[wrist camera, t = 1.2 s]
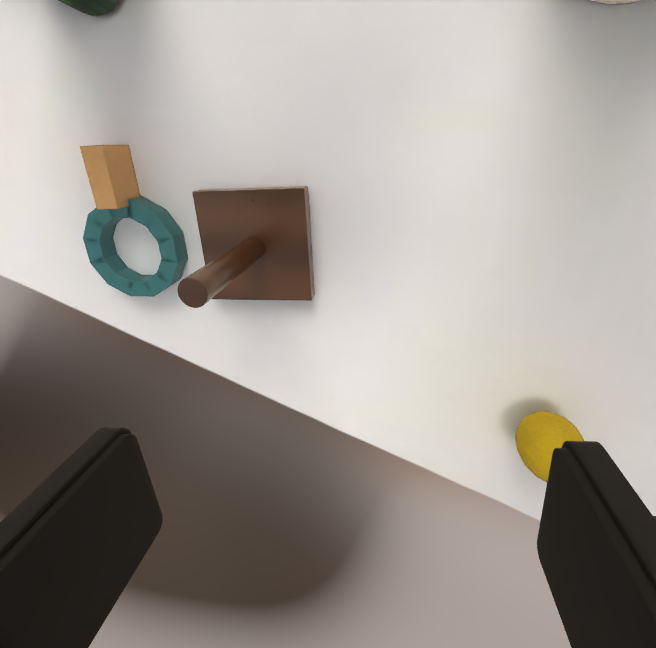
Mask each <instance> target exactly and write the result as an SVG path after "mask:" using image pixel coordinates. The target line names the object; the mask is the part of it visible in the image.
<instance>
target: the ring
mask: <svg viewBox="0 0 656 648" xmlns="http://www.w3.org/2000/svg"><path fill="white" fill-rule="evenodd" d="M80 149H81V153H82V156H83V160H84V163H85V167H86V171H87V174H88V178H89V182H90V185H91V189H92V192H93V196H94V200H95V203H96V208H95V209H94V210H93V211H92V212H91V213H89V214H88V218H87V222H86V227H85V232H84V236H83V239H84V243H85V246H86V249H87V253H88V256H89V259H90V263H91V264H92V265H93V267H94V268H95V269H96V270H97V272H98V273H99V274H100V275H101V276H102V278H103V279H104V280H105V281H106V282H107V284H109V285H110V286H112V287H114V288H116V289H118V290H120V291H122V292H124V293H126V294H128V295H129V296H155V295H157V294H158V293H160V292H162V291H163V290H165V289H166V288H168V287H169V286H171V285H172V284H174V283H175V282H176V281H178V280H179V279H181V276H182V273H183V270H184V267H185V264H186V262H187V259H188V256H187V251H186V246H185V241H184V235H183V232H182V230H181V229H180V228H179V226H178V225H177V223H176V222H175V221H174V219H173V218H172V217H171V215H170V214H169V213H168V211H167V210H166V209H164V208H162V207H160V206H159V205H157V204H155V203H153V202H151V201H149V200H148V199H146V198H144V197H140V194H139V189H138V185H137V180H136V176H135V172H134V167H133V163H132V159H131V154H130V150H129V146H128V145H94V146H80ZM122 218H132V219H134V220H136V221H137V222H139V223H141V224H143V225H145V226H146V227H147V228H148V229H149V231H150V232H151V233H152V235H153V236H154V237H155V239H156V240H157V241H158V244H159V249H160V253H161V258H162V260H161V263H160V266H159V269H158V272H157V273H156V274H155V275H141V274H139V273H137V272H135V271H133V270H131V269H129V268H128V267H127V266H126V265H125V264H124V262H123V261H122V260H121V259H120V257H119V256H118V255H117V253H116V249H115V245H114V241H113V234H114V230H115V226H116V223H117V222H119V221H120V220H121V219H122Z"/></svg>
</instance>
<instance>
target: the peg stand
mask: <svg viewBox="0 0 656 648" xmlns="http://www.w3.org/2000/svg"><path fill="white" fill-rule="evenodd" d="M193 198H194V204H195V209H196V215H197V220H198V226H199V232H200V237H201V243H202V249H203V254H204V260H205V266H204V267H202V268H200V269H199V270H197V271H196V272H194V273H193V274H191V275H189V276H188V277H186V278H185V279H183V280H182V281H181V282H180V283H179V285H178V295H179V297H180V299H181V300H182V302H183V303H185V304H186V305H188V306H190V307H193V308H198V307H201V306H203V305H204V304H206V303H207V302H208V301H209V300H210V299H239V300H312V299H313V297H314V295H315V292H314V277H313V261H312V245H311V230H310V214H309V199H308V187H307V186H301V187H273V188H244V189H216V190H198V191H194V192H193Z"/></svg>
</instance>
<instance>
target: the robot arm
mask: <svg viewBox="0 0 656 648" xmlns="http://www.w3.org/2000/svg"><path fill="white" fill-rule="evenodd" d="M590 1H596V2H601V3H607V4H617V3H630V2H634V1H638V0H590ZM161 525H162V513H161V510H160V507H159V504H158V501H157V498H156V495H155V492H154V489H153V486H152V483H151V480H150V477H149V474H148V471H147V468H146V465H145V462H144V459H143V456H142V453H141V450H140V447H139V444H138V441H137V438H136V437H135V436H134V435H132V434H131V432H130V431H129V430H128V429H126V428H106V427H105V428H100V429H99V430H98V431H96V432H95V433H94V434H93V435H92V436H91V437H90V438H89V439H88V440H87V441H86V442H85V443H84V444H83V445H81V446H80V448H78V449H77V450H76V451H75V452H74V453H73V454H72V455H71V456H70V457H69V458H68V459H67V460H66V461H65V462H64V463H62V465H60V466H59V467H58V468H57V469H56V470H55V471H54V472H53V473H52V474H51V475H50V476H49V477H48V478H47V479H46V480H45V481H44V482H43V483H41V485H39V487H37V488H36V489H35V490H34V491H33V492H32V493H31V494H30V495H29V496H28V497H27V498H26V499H25V500H23V501H22V502H21V503H20V504H19V505H18V506H17V507H16V508H15V509H14V510H13V511H12V512H11V513H10V514H9V515H8V516H7V517H6V518H5V519H4V520H2V521H1V522H0V648H88V647H89V646H90V644H91V642H92V641H93V639H94V637H95V636H96V634H97V632H98V631H99V629H100V627H101V626H102V624H103V623H104V621H105V619H106V618H107V616H108V614H109V613H110V611H111V610H112V608H113V606H114V605H115V603H116V601H117V600H118V598H119V596H120V595H121V593H122V592H123V590H124V588H125V587H126V585H127V583H128V582H129V580H130V578H131V577H132V575H133V573H134V572H135V570H136V569H137V567H138V565H139V564H140V562H141V560H142V559H143V557H144V555H145V554H146V552H147V550H148V549H149V547H150V546H151V544H152V542H153V541H154V539H155V537H156V536H157V534H158V533H159V531H160V528H161ZM537 549H538V554H539V559H540V562H541V565H542V568H543V570H544V573H545V576H546V578H547V581H548V584H549V587H550V589H551V592H552V595H553V598H554V601H555V603H556V606H557V609H558V611H559V614H560V617H561V620H562V623H563V625H564V628H565V631H566V633H567V636H568V639H569V642H570V645H571V647H572V648H656V516H652V514H651V513H650V511H649V510H648V509H647V507H646V506H645V504H644V503H643V502H642V500H641V499H640V498H639V496H638V495H637V493H636V492H635V491H634V489H633V488H632V486H631V485H630V484H629V482H628V481H627V479H626V478H625V477H624V475H623V474H622V472H621V471H620V470H619V468H618V467H617V465H616V464H615V463H614V461H613V460H612V459H611V457H610V456H609V454H608V453H607V452H606V450H605V449H604V447H603V446H602V445H601V444H600V443H598V442H589V441H565V442H564V443H563V445H562V448H555V449H554V450H553V454H552V459H551V465H550V471H549V476H548V482H547V488H546V493H545V499H544V505H543V510H542V516H541V522H540V528H539V534H538V539H537Z"/></svg>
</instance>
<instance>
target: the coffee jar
mask: <svg viewBox="0 0 656 648" xmlns="http://www.w3.org/2000/svg"><path fill="white" fill-rule="evenodd" d="M59 1H61V2H63V3H64V4H66V5H68V6H70V7H72V8H75V9H77V10H79V11H81V12H83V13H86V14H88V15H92V16H99V15H104V14H107V13H109V12H110V11H111V10H113V9H114V7H115V6H116V5H117V3H118V1H119V0H59Z"/></svg>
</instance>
